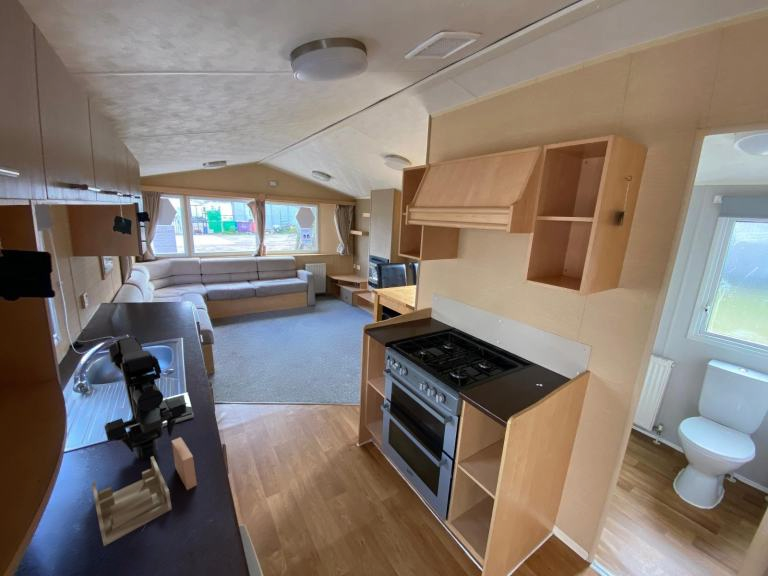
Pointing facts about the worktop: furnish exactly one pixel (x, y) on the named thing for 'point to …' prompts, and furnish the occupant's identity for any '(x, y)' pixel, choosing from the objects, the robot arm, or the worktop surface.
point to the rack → (108, 499)
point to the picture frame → (186, 401)
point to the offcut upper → (131, 506)
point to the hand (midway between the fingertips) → (151, 443)
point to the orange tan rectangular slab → (184, 463)
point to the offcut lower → (155, 504)
